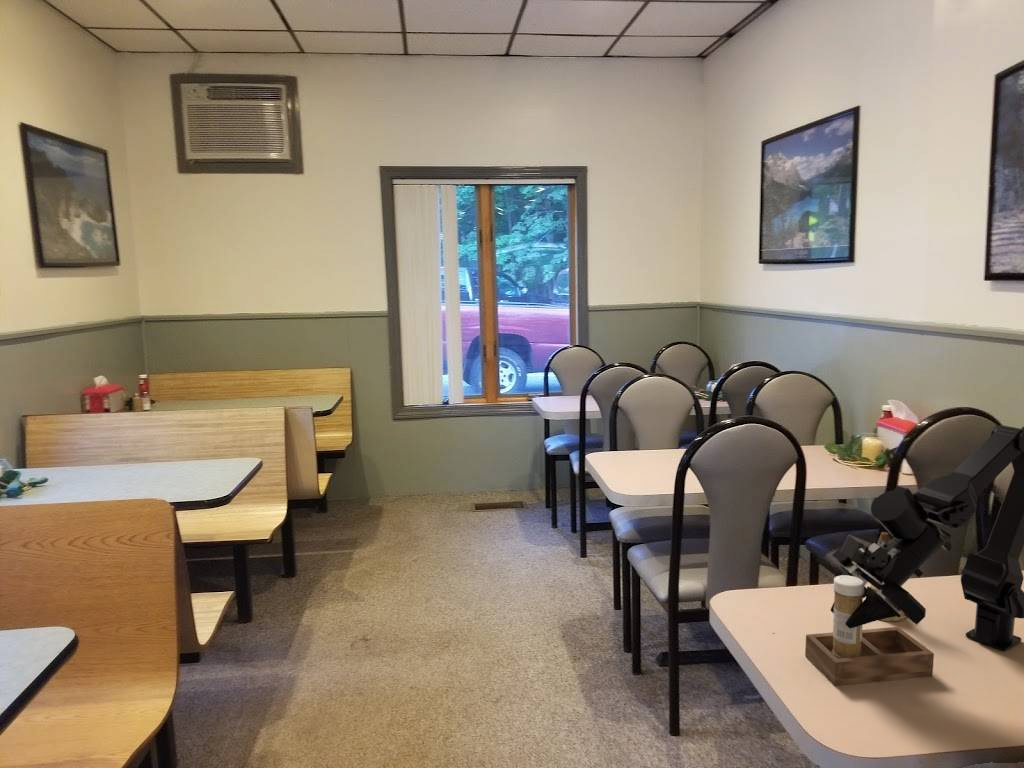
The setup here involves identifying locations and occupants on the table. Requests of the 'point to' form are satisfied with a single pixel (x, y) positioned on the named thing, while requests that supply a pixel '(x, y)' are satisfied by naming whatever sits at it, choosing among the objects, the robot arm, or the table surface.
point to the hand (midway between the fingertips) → (839, 619)
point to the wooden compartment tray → (871, 657)
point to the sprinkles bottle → (846, 616)
